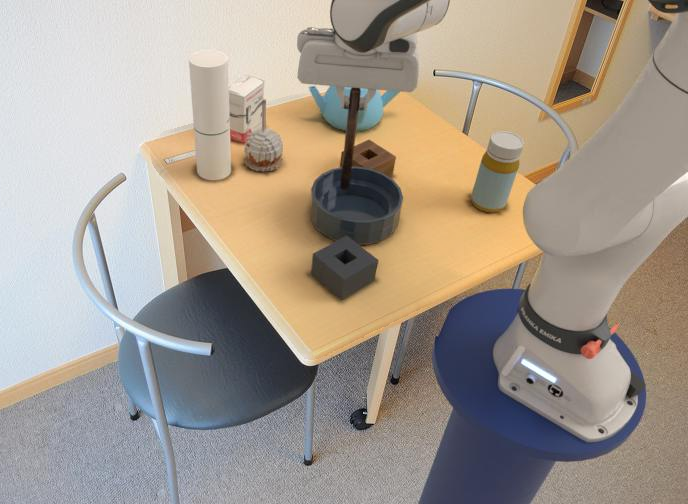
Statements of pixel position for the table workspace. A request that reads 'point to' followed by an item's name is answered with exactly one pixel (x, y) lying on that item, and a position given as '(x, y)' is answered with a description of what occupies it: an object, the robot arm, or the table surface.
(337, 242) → the stand
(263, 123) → the grey round-headed piece
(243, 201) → the table surface
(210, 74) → the cylindrical container
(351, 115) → the stick
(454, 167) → the table surface
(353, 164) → the holder
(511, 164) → the bottle
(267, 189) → the table surface
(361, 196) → the bowl
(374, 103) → the teapot
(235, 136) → the ink box
